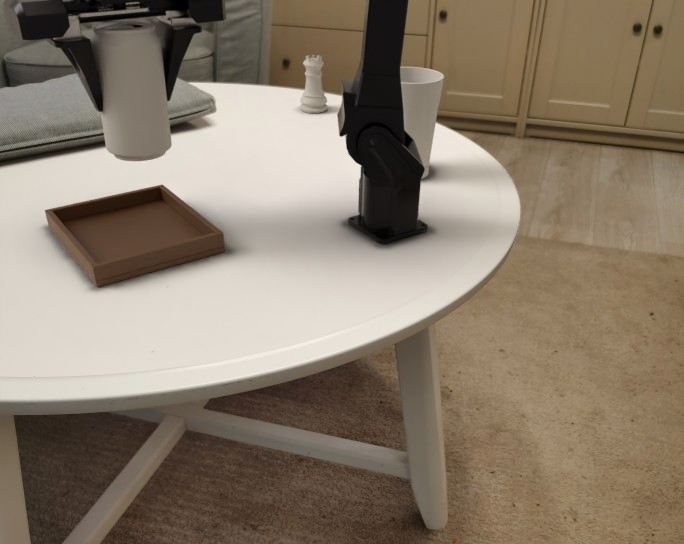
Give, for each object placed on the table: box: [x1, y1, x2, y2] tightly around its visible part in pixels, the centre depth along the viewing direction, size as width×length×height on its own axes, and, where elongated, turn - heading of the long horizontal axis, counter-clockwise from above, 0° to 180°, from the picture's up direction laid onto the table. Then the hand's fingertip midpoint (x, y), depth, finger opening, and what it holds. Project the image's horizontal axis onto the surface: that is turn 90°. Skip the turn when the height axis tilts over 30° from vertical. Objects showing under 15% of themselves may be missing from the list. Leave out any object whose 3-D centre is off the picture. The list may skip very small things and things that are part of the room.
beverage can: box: [89, 20, 173, 162], centre depth 68 cm, size 6×6×12 cm
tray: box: [44, 184, 226, 288], centre depth 73 cm, size 15×13×2 cm
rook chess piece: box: [299, 54, 329, 114], centre depth 111 cm, size 4×4×8 cm
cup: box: [400, 66, 445, 180], centre depth 88 cm, size 8×8×12 cm
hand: (133, 105), depth 69 cm, fingers closed on beverage can, 6 cm apart
